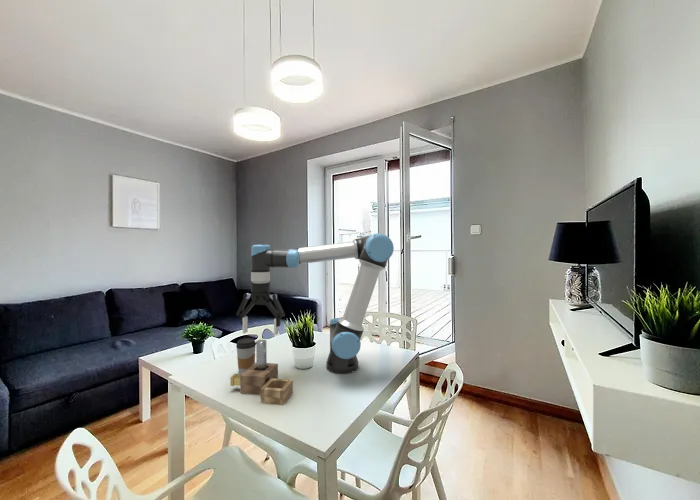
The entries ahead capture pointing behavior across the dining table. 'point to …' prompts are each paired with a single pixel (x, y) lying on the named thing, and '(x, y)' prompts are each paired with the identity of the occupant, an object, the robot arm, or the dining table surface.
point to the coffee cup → (245, 354)
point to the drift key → (236, 380)
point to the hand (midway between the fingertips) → (260, 333)
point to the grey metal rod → (261, 355)
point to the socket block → (257, 378)
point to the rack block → (276, 391)
